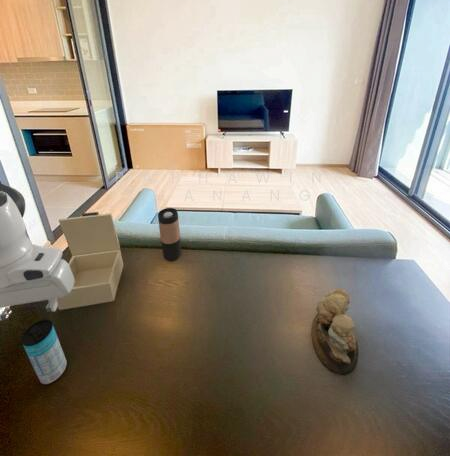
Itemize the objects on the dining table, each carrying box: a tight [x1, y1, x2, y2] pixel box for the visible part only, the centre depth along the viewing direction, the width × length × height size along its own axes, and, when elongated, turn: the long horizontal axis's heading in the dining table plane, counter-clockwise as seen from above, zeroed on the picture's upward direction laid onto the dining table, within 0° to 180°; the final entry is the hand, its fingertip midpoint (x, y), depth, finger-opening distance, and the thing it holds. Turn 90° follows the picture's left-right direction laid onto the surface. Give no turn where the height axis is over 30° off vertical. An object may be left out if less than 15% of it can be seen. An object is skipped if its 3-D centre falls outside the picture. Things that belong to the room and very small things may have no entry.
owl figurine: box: [311, 288, 359, 376], centre depth 65 cm, size 18×12×17 cm, turn 166°
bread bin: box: [56, 249, 124, 311], centre depth 85 cm, size 16×17×8 cm
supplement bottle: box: [20, 319, 68, 385], centre depth 60 cm, size 6×6×15 cm
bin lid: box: [58, 211, 121, 256], centre depth 89 cm, size 16×17×5 cm
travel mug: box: [157, 207, 182, 262], centre depth 97 cm, size 8×8×20 cm
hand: (30, 313), depth 55 cm, fingers open, 8 cm apart
